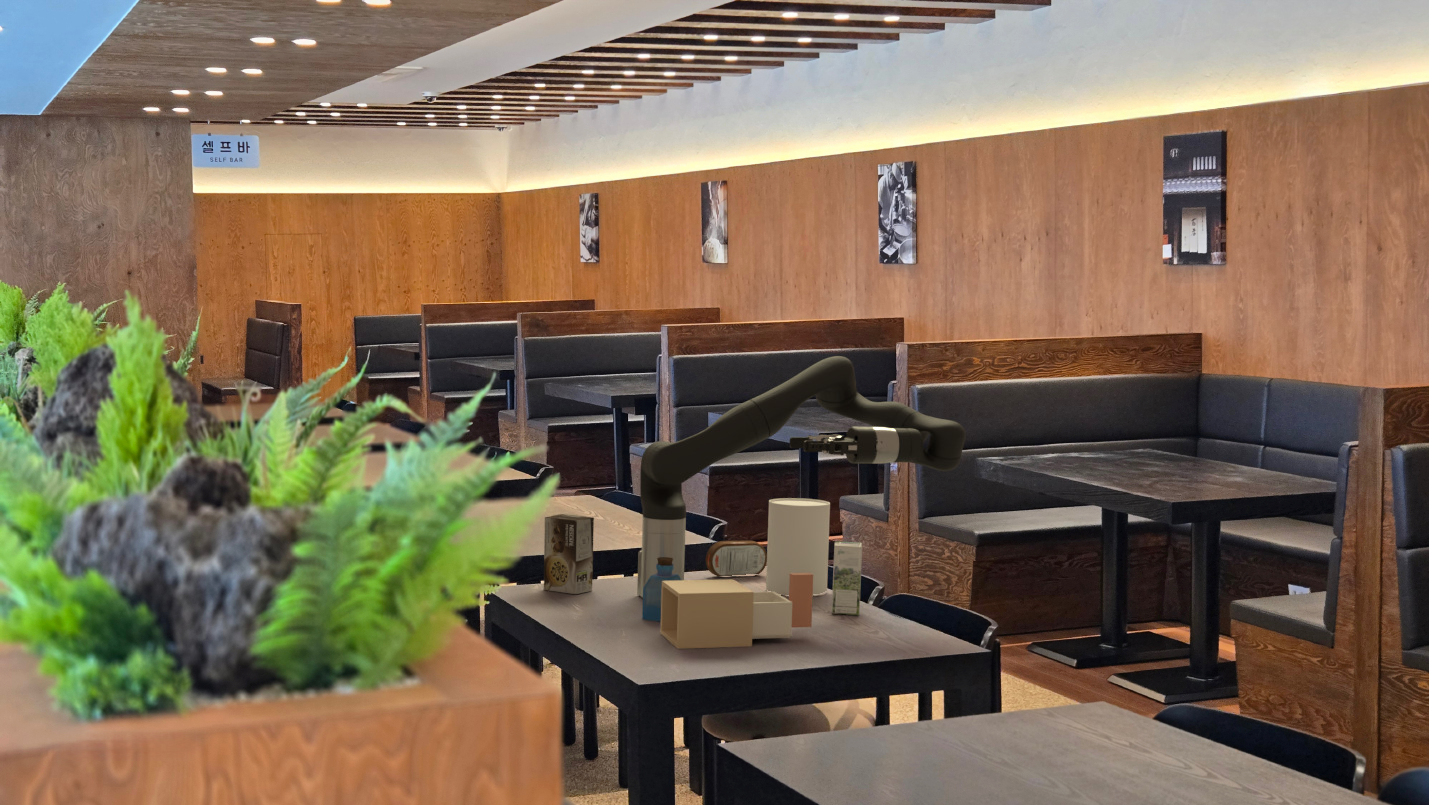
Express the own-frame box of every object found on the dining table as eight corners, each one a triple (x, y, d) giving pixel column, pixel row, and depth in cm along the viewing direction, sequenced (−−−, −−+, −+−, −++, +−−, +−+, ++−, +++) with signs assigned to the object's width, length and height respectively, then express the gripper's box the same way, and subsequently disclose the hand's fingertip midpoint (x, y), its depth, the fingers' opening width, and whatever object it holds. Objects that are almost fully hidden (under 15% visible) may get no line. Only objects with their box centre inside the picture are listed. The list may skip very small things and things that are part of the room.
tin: (762, 574, 339) (763, 539, 338) (768, 576, 336) (769, 541, 335) (704, 577, 332) (705, 541, 332) (709, 579, 330) (710, 543, 329)
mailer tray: (723, 639, 260) (725, 580, 260) (708, 627, 271) (709, 570, 270) (819, 636, 266) (821, 578, 265) (800, 624, 276) (802, 568, 275)
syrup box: (859, 610, 298) (862, 541, 297) (859, 616, 292) (862, 545, 291) (832, 609, 298) (834, 540, 297) (831, 614, 292) (834, 544, 292)
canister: (819, 599, 309) (823, 507, 308) (759, 594, 313) (762, 503, 312) (832, 588, 322) (835, 500, 321) (774, 584, 326) (777, 496, 325)
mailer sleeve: (677, 648, 257) (679, 593, 256) (660, 633, 269) (661, 580, 269) (751, 646, 261) (753, 592, 260) (731, 631, 273) (733, 579, 273)
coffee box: (593, 591, 310) (595, 517, 309) (575, 595, 305) (577, 520, 304) (560, 585, 315) (562, 513, 314) (541, 589, 310) (543, 515, 309)
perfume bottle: (684, 617, 285) (686, 557, 284) (670, 622, 279) (672, 562, 279) (656, 614, 288) (658, 554, 287) (642, 619, 282) (644, 559, 281)
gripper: (859, 424, 298) (786, 423, 293) (886, 429, 284) (809, 428, 280) (858, 460, 298) (784, 459, 294) (885, 466, 285) (808, 466, 280)
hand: (797, 444), depth 287 cm, fingers open, 8 cm apart
